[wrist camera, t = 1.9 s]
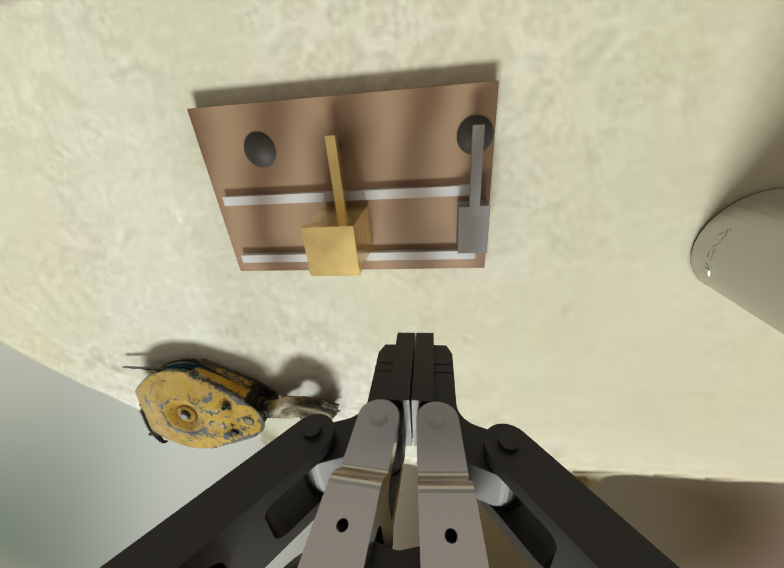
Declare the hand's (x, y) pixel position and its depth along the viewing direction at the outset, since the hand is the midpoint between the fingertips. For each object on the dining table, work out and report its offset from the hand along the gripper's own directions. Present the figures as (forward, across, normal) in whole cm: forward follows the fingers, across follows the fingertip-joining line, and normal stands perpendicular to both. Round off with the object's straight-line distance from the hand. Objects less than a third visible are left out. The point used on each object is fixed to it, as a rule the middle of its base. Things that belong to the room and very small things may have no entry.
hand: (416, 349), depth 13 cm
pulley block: (+19, +27, +25) cm, 41 cm away
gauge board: (+18, +7, -3) cm, 20 cm away
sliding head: (+17, +7, -3) cm, 19 cm away
